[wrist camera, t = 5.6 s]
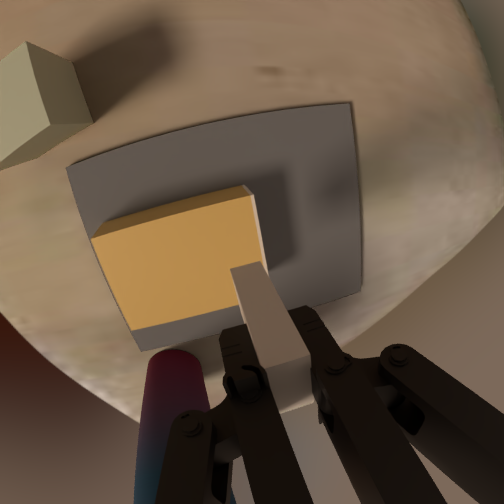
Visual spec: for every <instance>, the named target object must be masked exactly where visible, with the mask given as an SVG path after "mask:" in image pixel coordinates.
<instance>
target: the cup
mask: <svg viewBox="0 0 504 504" xmlns="http://www.w3.org/2000/svg"><path fill="white" fill-rule="evenodd" d="M188 410H200V411H203V412H207V411H209V410H211V409H210V405H209V401H208V396H207V392H206V387H205V383H204V378H203V373H202V369H201V365H200V362H199V361H198V359H197V358H196V357H194V356H193V355H192V354H190V353H188V352H185V351H181V350H165V351H161V352H159V353H157V354H155V355H154V356H153V357H152V358H151V359H150V361H149V363H148V369H147V375H146V382H145V389H144V396H143V403H142V411H141V419H140V428H139V437H138V448H137V459H136V471H135V487H134V504H155V499H156V494H157V489H158V484H159V479H160V474H161V469H162V464H163V460H164V455H165V450H166V446H167V441H168V437H169V432H170V428H171V425H172V423H173V420H174V419H175V418H176V417H177V416H178V415H179V414H181V413H183V412H185V411H188ZM230 504H236V501H235V498H234V495H233V491H232V488H231V497H230Z"/></svg>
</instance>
